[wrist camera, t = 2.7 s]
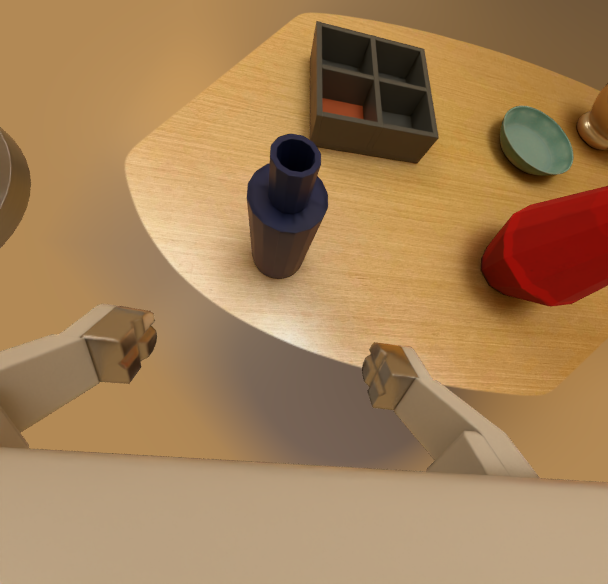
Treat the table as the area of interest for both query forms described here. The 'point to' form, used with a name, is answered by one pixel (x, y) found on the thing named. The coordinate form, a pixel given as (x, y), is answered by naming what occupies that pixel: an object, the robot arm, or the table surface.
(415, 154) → the tray
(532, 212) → the bottle
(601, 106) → the teapot
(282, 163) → the navy bottle
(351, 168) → the table surface
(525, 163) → the saucer
